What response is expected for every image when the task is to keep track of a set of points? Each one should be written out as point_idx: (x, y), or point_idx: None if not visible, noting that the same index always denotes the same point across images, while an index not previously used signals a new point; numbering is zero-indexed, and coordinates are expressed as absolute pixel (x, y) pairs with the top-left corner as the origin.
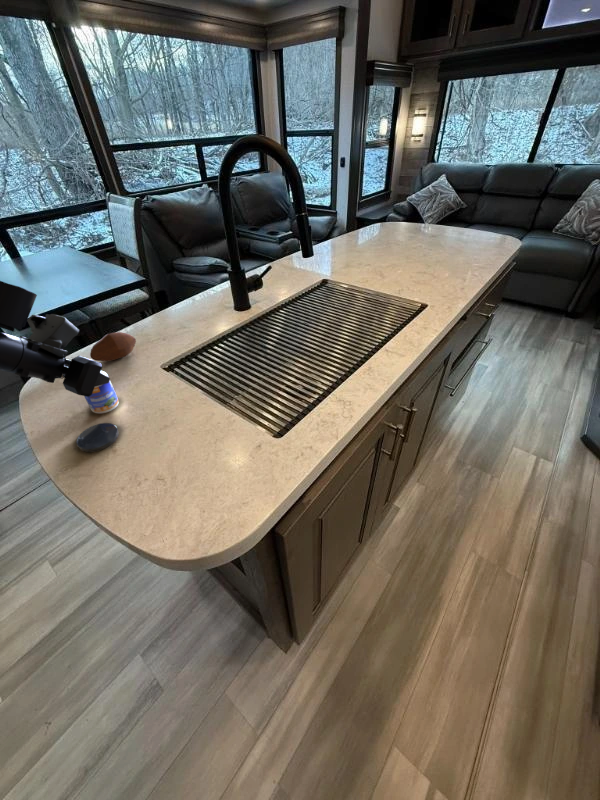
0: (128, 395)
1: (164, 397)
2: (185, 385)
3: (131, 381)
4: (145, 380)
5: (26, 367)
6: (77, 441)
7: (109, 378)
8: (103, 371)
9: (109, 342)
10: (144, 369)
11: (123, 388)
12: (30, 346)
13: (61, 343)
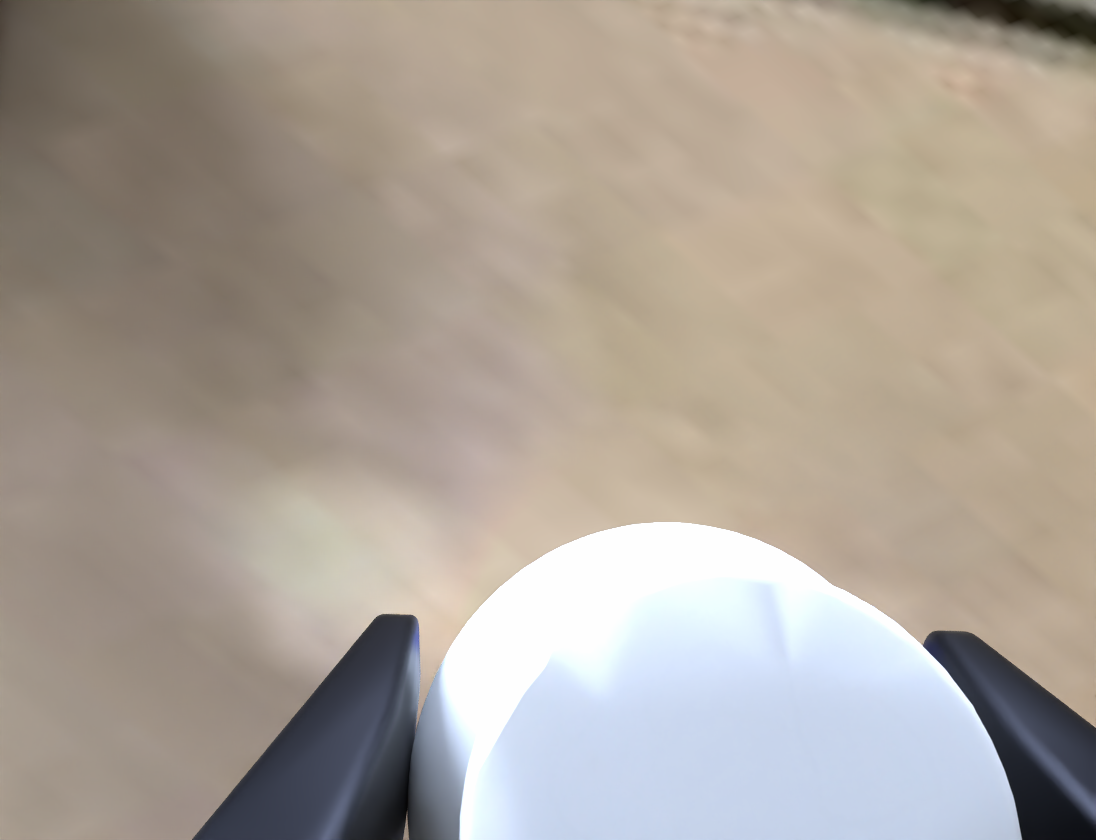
0: (674, 461)
1: (1052, 327)
2: (1069, 90)
3: (483, 254)
4: (615, 180)
5: None
6: None
7: (974, 643)
8: (718, 547)
9: None
10: (432, 32)
11: (509, 388)
12: None
13: None
